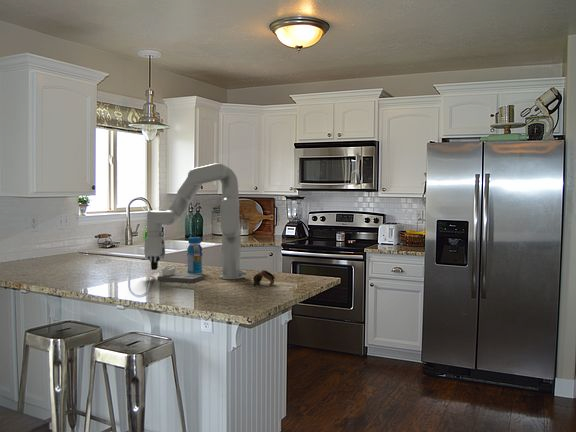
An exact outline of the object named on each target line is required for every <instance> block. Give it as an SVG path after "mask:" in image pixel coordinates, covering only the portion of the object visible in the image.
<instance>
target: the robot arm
mask: <svg viewBox="0 0 576 432" xmlns="http://www.w3.org/2000/svg"><path fill="white" fill-rule="evenodd" d="M216 181H219V182H220V183H221V196H222V197H221V203H220V204H219V205H220V208H219V209H220V212H219V213H220V215H219V217H220V230H221V232H222V234H221V235H222V236H221V237H222V240H221V242H222V243H221V247H222V248H221V249H222V250H221V251H222V253H221V254H222V256H221V257H222V258H221V260H222V261H221V262H222V265H221V266H222V268H221V273H222V274H220V275H219V278H220V279H223V280H238V279H239V280H240V279H243V278H244V276H248V273H249V272H248V271H246V270H243V268H241V266H242V265H241V247H242V246H241V245H242V244H241V231H242V228H241V227H242V226H241V222H240V206H241V205H240V197H239V183H238V182H239V181H238V177H237V176H236V174H235V172H234V171H233V169H231V168H230V167H229V166H226V165H225V164H222V163H219V162H218V163H212V164H208V165H204V166H199V167H194V168H192V169H190V170H189V171H188V173H187V176H186V179H185V180H184V181H183V183H182V184H181V186H180V187H179V188H178V190H177V192H176V196H175V198H174V200H173V202H172V204H171V205H170V207H169V208H168V209H167V210H164V211H161V210H148V211H147V212H146V237H145V239H144V240H145V241H144V250H143V252H144V258H146V259H148V260H149V263H150V270H152V271H155V270H156V271H157V270H158V267H159V265H158V263H159V261H160V260H162V259H165V256H166V245H165V244H166V243H165V238H164V237H163V236H164V235H165V233H164V232H163V226H173V225H174V224H176V223H177V222H178V221H179V220H180V218H181V217H182V215H183V214H184V212H185V211H186V209H187V208H188V207H189V205H190V204H191V203H192V200H193V199H194V197H196V194H197V193H198V192H199V190H200V189H201V187H202V186H203V185H204V184H208V183H211V182H216Z"/></svg>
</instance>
